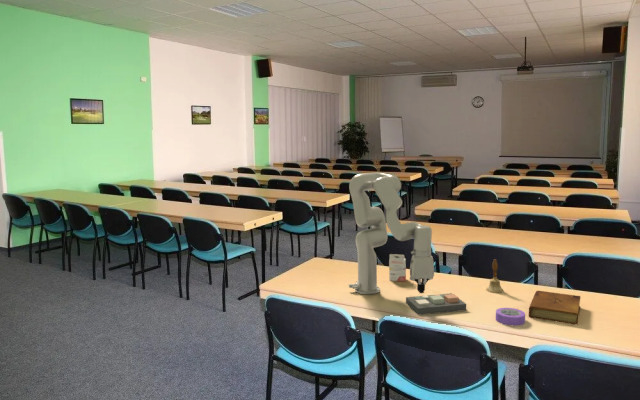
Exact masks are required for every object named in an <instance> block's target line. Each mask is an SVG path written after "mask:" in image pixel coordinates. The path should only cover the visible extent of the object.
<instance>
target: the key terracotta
mask: <svg viewBox="0 0 640 400" xmlns="http://www.w3.org/2000/svg"><path fill="white" fill-rule="evenodd" d="M447 294H448V295H444V300H445V301H446V302H447V303H454V302H459V299H460V297H459V296H457V295H456V294H455V293H452V294H449V293H447Z"/></svg>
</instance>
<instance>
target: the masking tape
mask: <svg viewBox="0 0 640 400" xmlns="http://www.w3.org/2000/svg"><path fill="white" fill-rule="evenodd" d="M495 321H496V322H497V323H499V324H501V323H502V324H501V325H505V324H506V325H505V326H510V325H513V327H514V326H515V327H516V326H518V325H519V326H522V325H524V324H525V323H526V313H525V311H523V310H521V309H518V308H514V307H513V308H512V307H499V308H497V309H496V310H495Z"/></svg>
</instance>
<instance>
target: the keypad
mask: <svg viewBox="0 0 640 400" xmlns="http://www.w3.org/2000/svg"><path fill="white" fill-rule="evenodd" d="M448 294H453V293H451V292H450V293H440V294H439V293H438V294H431V295H429V294H428V295H427V294H426V295H417V296H416V295H415V296H406V297H405V304H406V305H407V306H408V307H409V308H410V309H411V310H412V311H413V312H414V313H415V314H416V315H418V316H419V315H429V314H440V313H442V314H443V313H452V312H463V311H467V303H466V302H464V301H463V300H462V299H460V298H459V302H454V303H447V302H446V301H445V300H444V303H443V304H432V303H431V302H430V301H429V298H430V296H436V295H440V296H441V297H443V298H444V295H448ZM422 299H426V300H427V301H428V302H429V303H430V305H421V306H418V305H417V304H416V303H415V300H422Z"/></svg>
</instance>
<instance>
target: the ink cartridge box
mask: <svg viewBox="0 0 640 400" xmlns="http://www.w3.org/2000/svg"><path fill="white" fill-rule="evenodd" d="M406 260H407V259H406V258H405V254H396V253H395V254H393V253H390V254H389V260H388V270H389V271H388V273H389V275H388V276H389V281H392V282H393V281H394V282H395V281H396V282H405V281H406V279H407V266H406V265H407V263H406V262H407V261H406Z"/></svg>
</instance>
